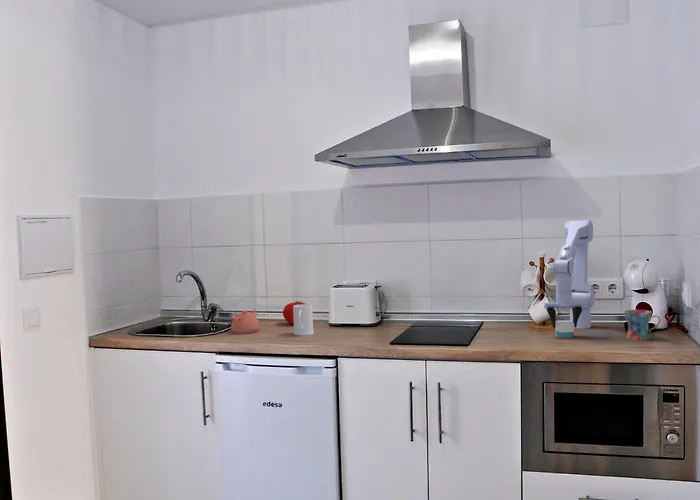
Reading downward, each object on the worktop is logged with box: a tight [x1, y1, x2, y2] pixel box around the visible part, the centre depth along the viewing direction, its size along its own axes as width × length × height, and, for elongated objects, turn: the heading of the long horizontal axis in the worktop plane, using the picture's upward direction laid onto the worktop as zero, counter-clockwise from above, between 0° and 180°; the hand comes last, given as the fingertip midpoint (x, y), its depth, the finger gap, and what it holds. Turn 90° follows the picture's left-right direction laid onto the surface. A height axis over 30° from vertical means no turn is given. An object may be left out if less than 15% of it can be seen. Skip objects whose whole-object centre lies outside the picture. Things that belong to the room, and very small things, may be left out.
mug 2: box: [623, 309, 661, 341], centre depth 239 cm, size 12×9×11 cm
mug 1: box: [293, 303, 315, 337], centre depth 276 cm, size 12×8×12 cm
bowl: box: [554, 329, 575, 339], centre depth 247 cm, size 6×6×3 cm
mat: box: [577, 330, 620, 339], centre depth 249 cm, size 12×12×1 cm
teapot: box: [230, 308, 261, 335], centre depth 288 cm, size 12×18×10 cm
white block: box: [555, 320, 575, 333], centre depth 247 cm, size 5×5×3 cm
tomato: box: [282, 300, 306, 325], centre depth 304 cm, size 13×12×11 cm
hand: (564, 327), depth 247 cm, fingers open, 7 cm apart
